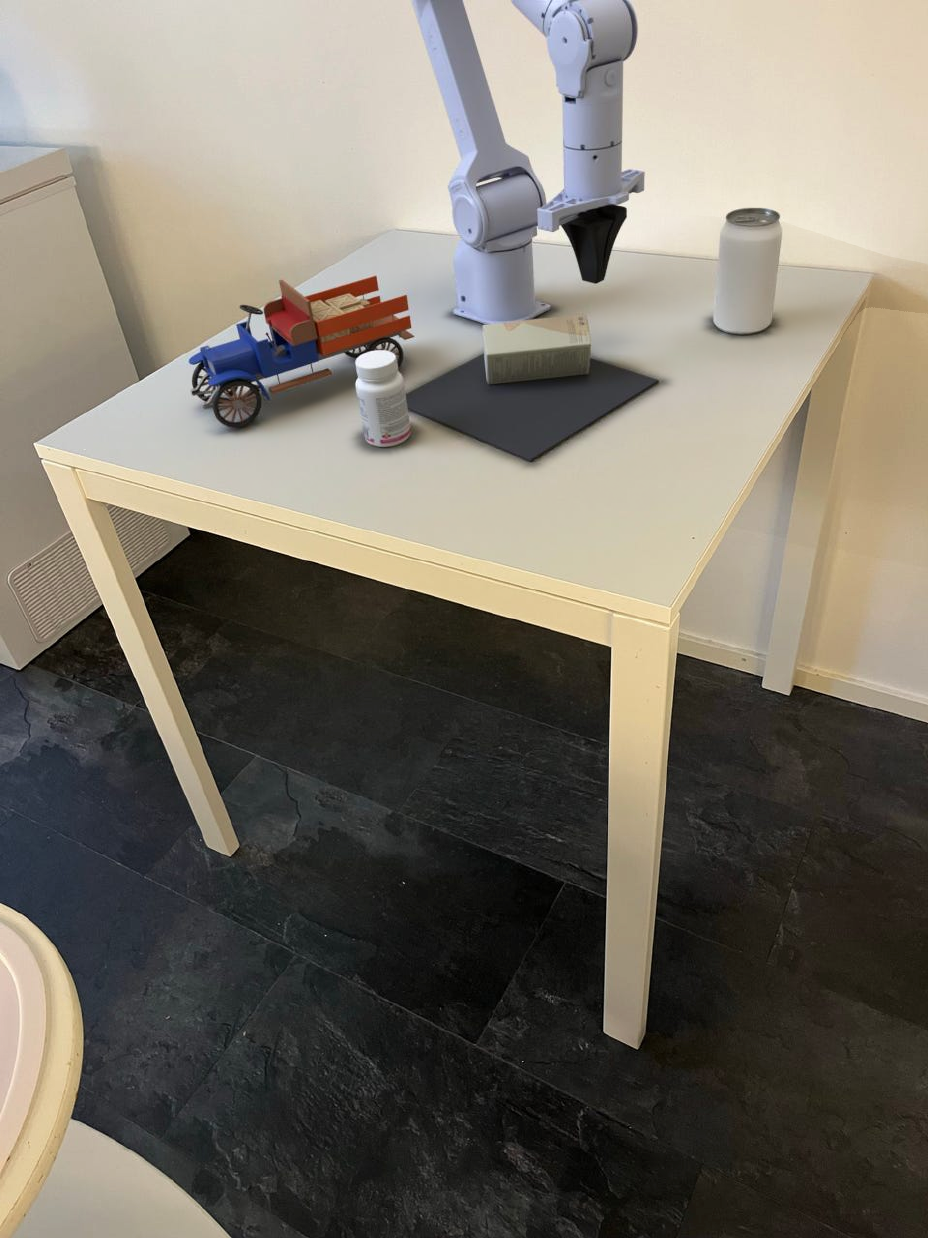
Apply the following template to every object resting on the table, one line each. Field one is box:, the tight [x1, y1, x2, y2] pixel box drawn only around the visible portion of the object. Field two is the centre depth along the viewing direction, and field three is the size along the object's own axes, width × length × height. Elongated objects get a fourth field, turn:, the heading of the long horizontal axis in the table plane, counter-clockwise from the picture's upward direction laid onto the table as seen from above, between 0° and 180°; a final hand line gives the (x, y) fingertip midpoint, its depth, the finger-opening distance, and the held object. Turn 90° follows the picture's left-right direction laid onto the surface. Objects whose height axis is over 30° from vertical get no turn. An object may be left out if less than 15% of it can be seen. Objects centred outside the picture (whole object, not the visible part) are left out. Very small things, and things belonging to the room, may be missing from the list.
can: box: [712, 207, 783, 336], centre depth 106 cm, size 6×6×12 cm
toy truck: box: [188, 275, 415, 429], centre depth 104 cm, size 8×25×11 cm, turn 120°
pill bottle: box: [354, 349, 412, 448], centre depth 95 cm, size 5×5×8 cm
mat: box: [406, 353, 660, 463], centre depth 102 cm, size 20×20×1 cm
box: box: [482, 313, 592, 384], centre depth 102 cm, size 5×4×11 cm
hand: (592, 279), depth 102 cm, fingers closed
